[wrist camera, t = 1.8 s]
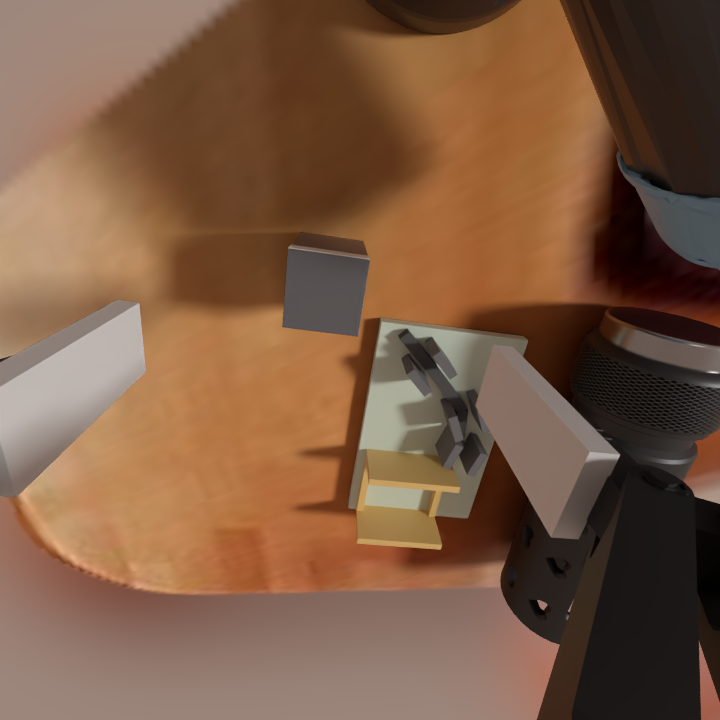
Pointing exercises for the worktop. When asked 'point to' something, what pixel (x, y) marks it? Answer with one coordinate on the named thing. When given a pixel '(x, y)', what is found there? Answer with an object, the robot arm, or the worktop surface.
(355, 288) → the plug
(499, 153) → the worktop surface
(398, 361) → the board
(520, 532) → the muzzle brake
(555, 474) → the robot arm
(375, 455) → the end holder
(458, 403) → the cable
